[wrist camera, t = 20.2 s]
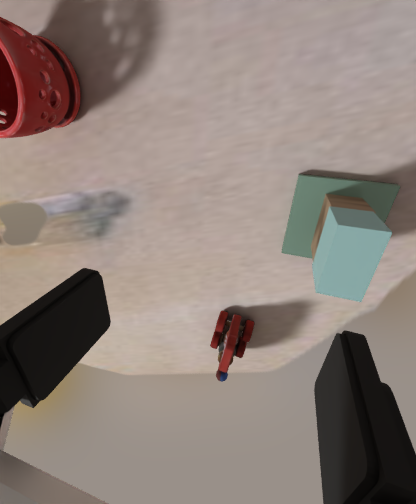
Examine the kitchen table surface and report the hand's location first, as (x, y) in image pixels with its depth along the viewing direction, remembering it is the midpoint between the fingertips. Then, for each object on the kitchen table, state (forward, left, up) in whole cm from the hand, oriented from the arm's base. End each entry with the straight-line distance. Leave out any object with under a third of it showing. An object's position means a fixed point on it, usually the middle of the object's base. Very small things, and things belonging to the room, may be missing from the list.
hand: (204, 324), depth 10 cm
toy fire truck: (+31, -2, -31) cm, 44 cm away
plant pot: (-10, -35, -31) cm, 48 cm away
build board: (+5, +10, -30) cm, 32 cm away
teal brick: (+5, +10, -23) cm, 26 cm away
